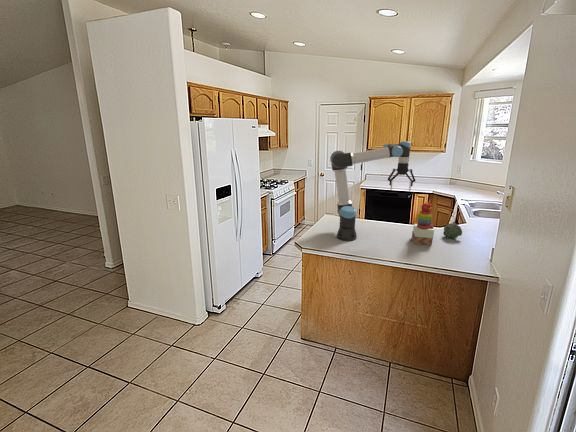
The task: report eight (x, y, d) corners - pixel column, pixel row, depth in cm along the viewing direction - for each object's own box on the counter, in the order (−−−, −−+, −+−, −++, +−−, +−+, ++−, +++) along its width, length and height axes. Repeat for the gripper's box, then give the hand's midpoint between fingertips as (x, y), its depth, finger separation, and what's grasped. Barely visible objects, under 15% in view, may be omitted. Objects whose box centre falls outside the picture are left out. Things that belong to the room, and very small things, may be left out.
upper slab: (415, 236, 226) (416, 228, 224) (412, 231, 237) (413, 223, 235) (433, 238, 223) (434, 230, 222) (429, 232, 234) (430, 224, 233)
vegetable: (467, 235, 239) (462, 231, 228) (452, 244, 244) (447, 240, 233) (458, 222, 245) (452, 218, 234) (443, 231, 251) (437, 227, 240)
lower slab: (414, 244, 228) (415, 236, 226) (411, 238, 239) (412, 230, 237) (431, 245, 226) (432, 237, 224) (428, 239, 237) (429, 232, 235)
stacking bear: (423, 230, 222) (426, 205, 217) (413, 225, 231) (416, 202, 226) (434, 228, 226) (438, 204, 220) (424, 223, 235) (427, 201, 229)
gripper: (386, 162, 233) (383, 190, 239) (421, 163, 228) (418, 192, 234) (385, 161, 240) (383, 188, 246) (420, 162, 235) (416, 189, 241)
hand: (400, 190), depth 240 cm, fingers open, 13 cm apart
